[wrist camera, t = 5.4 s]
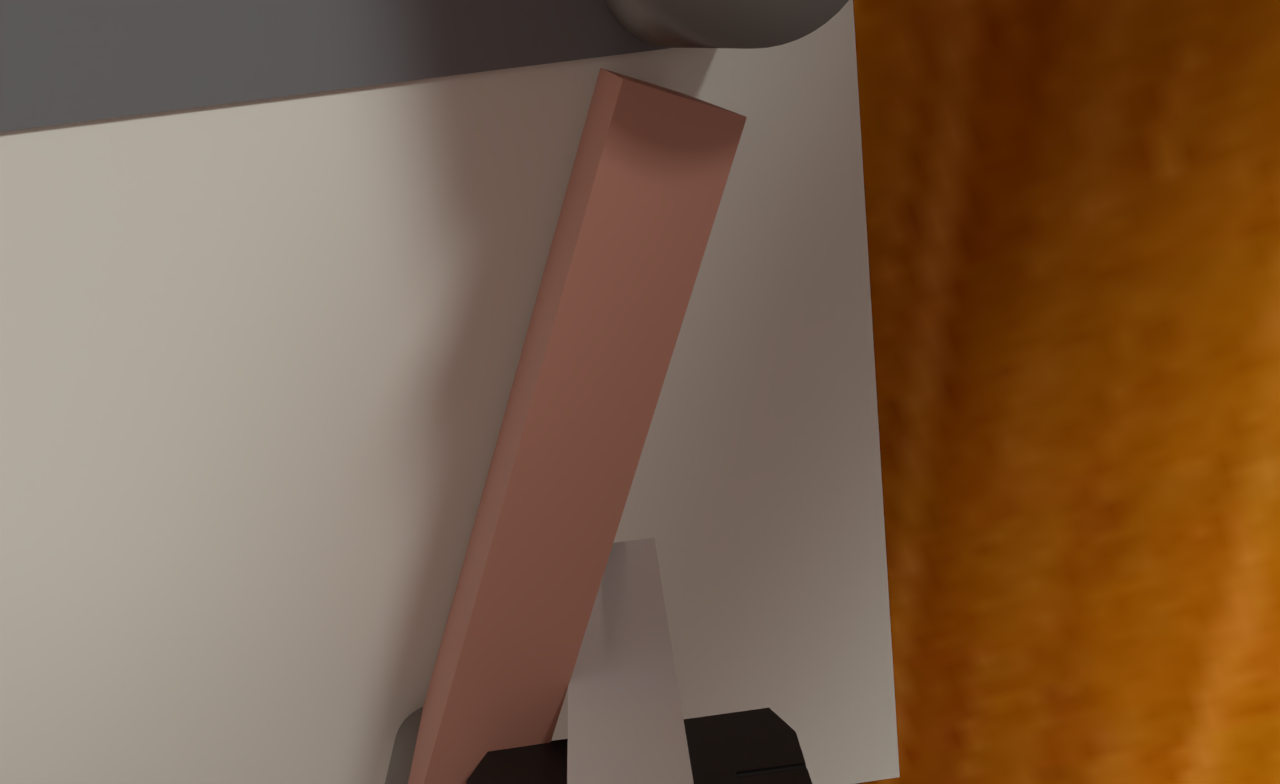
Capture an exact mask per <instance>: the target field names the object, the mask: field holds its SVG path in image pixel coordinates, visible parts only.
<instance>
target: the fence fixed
mask: <svg viewBox="0 0 1280 784" xmlns="http://www.w3.org/2000/svg"><path fill="white" fill-rule="evenodd" d="M848 1H849V0H605V2H606V4H607V6H608V9H609V10H610V12H611V13H612V15H613V17H614V18H615V19H616V21H617V22H618V23H619V24H620V25H621V26H622V27H623V28H624V29H625V30H626V31H627V32H628V33H630V34H631V35H633V36H634V37H636V38H638V39H639V40H641V41H643V42H646V43H649V44H651V45H655V46H660V47H669V48H737V49H755V48H769V47H774V46H779V45H783V44H786V43H789V42H792V41H795V40H798V39H800V38H802V37H804V36H806V35H808V34H810V33H812V32H814V31H815V30H817V29H818V28H820V27H821V26H823V25H824V24H826V23H827V22H828V21H829V20H830V19H831V18H832V17H834V16H835V15H836V14H837V13H838V12H839V11H840V10H841V9H842V8H843V7H844V5H845V4H846V3H847V2H848Z"/></svg>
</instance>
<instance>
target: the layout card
mask: <svg viewBox="0 0 1280 784" xmlns="http://www.w3.org/2000/svg"><path fill="white" fill-rule="evenodd" d="M600 68H603V69H606V70H609V71H612V72H616V73H619V74H622V75H625V76H629V77H632V78H635V79H638V80H642V81H645V82H648V83H651V84H655V85H658V86H661V87H664V88H668V89H671V90H674V91H677V92H681V93H684V94H687V95H689V96H692V97H695V98H697V99H700V100H703V101H705V102H708V103H711V104H713V105H716V106H719V107H721V108H724V109H727V110H730V111H732V112H735V113H738V114H740V115H743V116H746V117H747V118H746V122H745V125H744V128H743V131H742V134H741V137H740V141H739V144H738V147H737V150H736V153H735V157H734V160H733V163H732V166H731V169H730V173H729V176H728V179H727V182H726V185H725V188H724V192H723V195H722V198H721V201H720V204H719V208H718V211H717V214H716V217H715V220H714V224H713V227H712V230H711V233H710V236H709V239H708V243H707V246H706V249H705V252H704V255H703V259H702V262H701V265H700V268H699V271H698V275H697V278H696V281H695V284H694V287H693V290H692V294H691V297H690V300H689V303H688V306H687V310H686V313H685V316H684V319H683V322H682V326H681V329H680V332H679V335H678V338H677V341H676V345H675V348H674V351H673V354H672V357H671V361H670V364H669V367H668V370H667V373H666V377H665V380H664V383H663V386H662V389H661V392H660V396H659V399H658V402H657V405H656V408H655V412H654V415H653V418H652V421H651V424H650V428H649V431H648V434H647V437H646V440H645V443H644V447H643V450H642V453H641V456H640V459H639V463H638V466H637V469H636V472H635V475H634V479H633V482H632V485H631V488H630V491H629V494H628V498H627V501H626V504H625V507H624V510H623V514H622V517H621V520H620V523H619V526H618V529H617V533H616V536H615V539H614V542H613V543H617V542H624V541H632V540H639V539H646V538H654V539H655V545H656V551H657V557H658V564H659V570H660V576H661V582H662V589H663V595H664V601H665V607H666V614H667V620H668V626H669V632H670V639H671V645H672V651H673V657H674V664H675V670H676V676H677V682H678V689H679V695H680V701H681V707H682V714H683V719H690V718H697V717H704V716H711V715H719V714H726V713H733V712H741V711H748V710H755V709H762V708H770V709H771V710H772V711H773V712H774V713H776V714H777V715H778V716H779V717H780V718H781V719H782V720H783V721H784V722H786V723H787V724H788V725H789V726H790V727H791V728H792V729H793V730H794V731H796V734H797V737H798V740H799V744H800V747H801V750H802V753H803V756H804V759H805V762H806V768H807V769H808V772H809V775H810V778H811V781H812V784H856V783H863V782H870V781H877V780H883V779H890V778H897V777H900V774H899V757H898V741H897V724H896V707H895V691H894V674H893V657H892V641H891V624H890V608H889V591H888V574H887V558H886V541H885V524H884V508H883V491H882V474H881V458H880V441H879V424H878V408H877V391H876V374H875V358H874V341H873V325H872V308H871V291H870V275H869V258H868V241H867V225H866V208H865V191H864V175H863V158H862V141H861V125H860V108H859V91H858V75H857V58H856V42H855V25H854V8H853V0H849V1H848V2H847V3H846V4H845V5H844V7H843V8H842V9H841V10H840V11H839V12H838V13H837V14H836V15H835V16H834V17H832V18H831V19H830V20H829V21H828V22H827V23H826V24H824V25H823V26H821V27H820V28H818V29H817V30H815V31H814V32H812V33H810V34H808V35H806V36H804V37H802V38H800V39H798V40H795V41H792V42H789V43H786V44H783V45H779V46H774V47H769V48H755V49H737V48H669V47H660V46H655V45H651V44H649V43H646V42H643V41H641V40H639V39H638V38H636V37H634V36H633V35H631V34H630V33H628V32H627V31H626V30H625V29H624V28H623V27H622V26H621V25H620V24H619V23H618V22H617V21H616V19H615V18H614V17H613V15H612V13H611V12H610V10H609V9H608V6H607V4H606V2H605V0H0V784H385V780H386V776H387V772H388V768H389V763H390V759H391V755H392V750H393V746H394V742H395V737H396V735H397V732H398V730H399V728H400V726H401V724H402V723H403V722H404V720H405V719H406V718H407V717H408V716H409V715H410V714H412V713H413V712H414V711H416V710H417V709H419V708H421V707H423V706H424V702H425V699H426V695H427V691H428V688H429V684H430V681H431V677H432V673H433V670H434V666H435V663H436V659H437V655H438V652H439V648H440V645H441V641H442V637H443V634H444V630H445V626H446V623H447V619H448V616H449V612H450V608H451V605H452V601H453V598H454V594H455V590H456V587H457V583H458V580H459V576H460V572H461V569H462V565H463V562H464V558H465V554H466V551H467V547H468V543H469V540H470V536H471V533H472V529H473V525H474V522H475V518H476V515H477V511H478V507H479V504H480V500H481V497H482V493H483V489H484V486H485V482H486V478H487V475H488V471H489V468H490V464H491V460H492V457H493V453H494V450H495V446H496V442H497V439H498V435H499V432H500V428H501V424H502V421H503V417H504V414H505V410H506V406H507V403H508V399H509V395H510V392H511V388H512V385H513V381H514V377H515V374H516V370H517V367H518V363H519V359H520V356H521V352H522V349H523V345H524V341H525V338H526V334H527V331H528V327H529V323H530V320H531V316H532V312H533V309H534V305H535V302H536V298H537V294H538V291H539V287H540V284H541V280H542V276H543V273H544V269H545V266H546V262H547V258H548V255H549V251H550V248H551V244H552V240H553V237H554V233H555V229H556V226H557V222H558V219H559V215H560V211H561V208H562V204H563V201H564V197H565V193H566V190H567V186H568V183H569V179H570V175H571V172H572V168H573V165H574V161H575V157H576V154H577V150H578V146H579V143H580V139H581V136H582V132H583V128H584V125H585V121H586V118H587V114H588V110H589V107H590V103H591V100H592V96H593V92H594V89H595V85H596V82H597V78H598V74H599V71H600ZM561 739H568V689H567V692H566V695H565V698H564V702H563V705H562V708H561V711H560V714H559V718H558V721H557V724H556V727H555V730H554V733H553V737H552V740H551V741H554V740H561Z"/></svg>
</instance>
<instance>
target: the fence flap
mask: <svg viewBox="0 0 1280 784" xmlns="http://www.w3.org/2000/svg"><path fill="white" fill-rule="evenodd" d="M746 118H747V117H746V116H743V115H740V114H738V113H735V112H732V111H730V110H727V109H724V108H721V107H719V106H716V105H713V104H711V103H708V102H705V101H703V100H700V99H697V98H695V97H692V96H689V95H687V94H684V93H681V92H677V91H674V90H671V89H668V88H664V87H661V86H658V85H655V84H651V83H648V82H645V81H642V80H638V79H635V78H632V77H629V76H625V75H622V74H619V73H616V72H612V71H609V70H606V69H603V68H600V71H599V74H598V78H597V82H596V85H595V89H594V92H593V96H592V100H591V103H590V107H589V110H588V114H587V118H586V121H585V125H584V128H583V132H582V136H581V139H580V143H579V146H578V150H577V154H576V157H575V161H574V165H573V168H572V172H571V175H570V179H569V183H568V186H567V190H566V193H565V197H564V201H563V204H562V208H561V211H560V215H559V219H558V222H557V226H556V229H555V233H554V237H553V240H552V244H551V248H550V251H549V255H548V258H547V262H546V266H545V269H544V273H543V276H542V280H541V284H540V287H539V291H538V294H537V298H536V302H535V305H534V309H533V312H532V316H531V320H530V323H529V327H528V331H527V334H526V338H525V341H524V345H523V349H522V352H521V356H520V359H519V363H518V367H517V370H516V374H515V377H514V381H513V385H512V388H511V392H510V395H509V399H508V403H507V406H506V410H505V414H504V417H503V421H502V424H501V428H500V432H499V435H498V439H497V442H496V446H495V450H494V453H493V457H492V460H491V464H490V468H489V471H488V475H487V478H486V482H485V486H484V489H483V493H482V497H481V500H480V504H479V507H478V511H477V515H476V518H475V522H474V525H473V529H472V533H471V536H470V540H469V543H468V547H467V551H466V554H465V558H464V562H463V565H462V569H461V572H460V576H459V580H458V583H457V587H456V590H455V594H454V598H453V601H452V605H451V608H450V612H449V616H448V619H447V623H446V626H445V630H444V634H443V637H442V641H441V645H440V648H439V652H438V655H437V659H436V663H435V666H434V670H433V673H432V677H431V681H430V684H429V688H428V691H427V695H426V699H425V702H424V706H423V707H421V708H419V709H417V710H416V711H414V712H413V713H412V714H410V715H409V716H408V717H407V718H406V719H405V720H404V722H403V723H402V724H401V726H400V728H399V730H398V732H397V735H396V737H395V742H394V746H393V750H392V755H391V759H390V763H389V768H388V772H387V776H386V780H385V784H466V782H467V779H468V778H469V777H470V775H471V774H472V773H473V771H474V770H475V768H476V767H477V766H478V764H479V763H480V762H481V760H482V759H483V757H484V756H485V755H486V753H487V752H488V751H495V750H502V749H509V748H516V747H522V746H529V745H536V744H543V743H549V742H551V740H552V737H553V733H554V730H555V727H556V724H557V721H558V718H559V714H560V711H561V708H562V705H563V702H564V698H565V695H566V692H567V689H568V684H569V682H570V679H571V676H572V673H573V670H574V667H575V663H576V660H577V657H578V654H579V651H580V647H581V644H582V641H583V638H584V635H585V631H586V628H587V625H588V622H589V619H590V616H591V612H592V609H593V606H594V603H595V600H596V596H597V593H598V590H599V587H600V584H601V580H602V577H603V574H604V571H605V568H606V565H607V561H608V558H609V555H610V552H611V549H612V545H613V542H614V539H615V536H616V533H617V529H618V526H619V523H620V520H621V517H622V514H623V510H624V507H625V504H626V501H627V498H628V494H629V491H630V488H631V485H632V482H633V479H634V475H635V472H636V469H637V466H638V463H639V459H640V456H641V453H642V450H643V447H644V443H645V440H646V437H647V434H648V431H649V428H650V424H651V421H652V418H653V415H654V412H655V408H656V405H657V402H658V399H659V396H660V392H661V389H662V386H663V383H664V380H665V377H666V373H667V370H668V367H669V364H670V361H671V357H672V354H673V351H674V348H675V345H676V341H677V338H678V335H679V332H680V329H681V326H682V322H683V319H684V316H685V313H686V310H687V306H688V303H689V300H690V297H691V294H692V290H693V287H694V284H695V281H696V278H697V275H698V271H699V268H700V265H701V262H702V259H703V255H704V252H705V249H706V246H707V243H708V239H709V236H710V233H711V230H712V227H713V224H714V220H715V217H716V214H717V211H718V208H719V204H720V201H721V198H722V195H723V192H724V188H725V185H726V182H727V179H728V176H729V173H730V169H731V166H732V163H733V160H734V157H735V153H736V150H737V147H738V144H739V141H740V137H741V134H742V131H743V128H744V125H745V122H746Z"/></svg>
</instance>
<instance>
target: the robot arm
mask: <svg viewBox="0 0 1280 784" xmlns="http://www.w3.org/2000/svg"><path fill="white" fill-rule="evenodd" d="M466 784H812V781H811V778H810V775H809V772H808V769H807V768H806V762H805V759H804V756H803V753H802V750H801V747H800V744H799V740H798V737H797V734H796V731H794V730H793V729H792V728H791V727H790V726H789V725H788V724H787V723H786V722H784V721H783V720H782V719H781V718H780V717H779V716H778V715H777V714H776V713H774V712H773V711H772V710H771V709H770V708H762V709H755V710H748V711H741V712H733V713H726V714H719V715H711V716H704V717H697V718H690V719H683V714H682V707H681V701H680V695H679V689H678V682H677V676H676V670H675V664H674V657H673V651H672V645H671V639H670V632H669V626H668V620H667V614H666V607H665V601H664V595H663V589H662V582H661V576H660V570H659V564H658V557H657V551H656V545H655V539H654V538H646V539H639V540H632V541H624V542H617V543H613V545H612V549H611V552H610V555H609V558H608V561H607V565H606V568H605V571H604V574H603V577H602V580H601V584H600V587H599V590H598V593H597V596H596V600H595V603H594V606H593V609H592V612H591V616H590V619H589V622H588V625H587V628H586V631H585V635H584V638H583V641H582V644H581V647H580V651H579V654H578V657H577V660H576V663H575V667H574V670H573V673H572V676H571V679H570V682H569V684H568V739H561V740H554V741H551V742H549V743H543V744H536V745H529V746H522V747H516V748H509V749H502V750H495V751H488V752H487V753H486V755H485V756H484V757H483V759H482V760H481V762H480V763H479V764H478V766H477V767H476V768H475V770H474V771H473V773H472V774H471V775H470V777H469V778H468V779H467V782H466Z"/></svg>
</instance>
